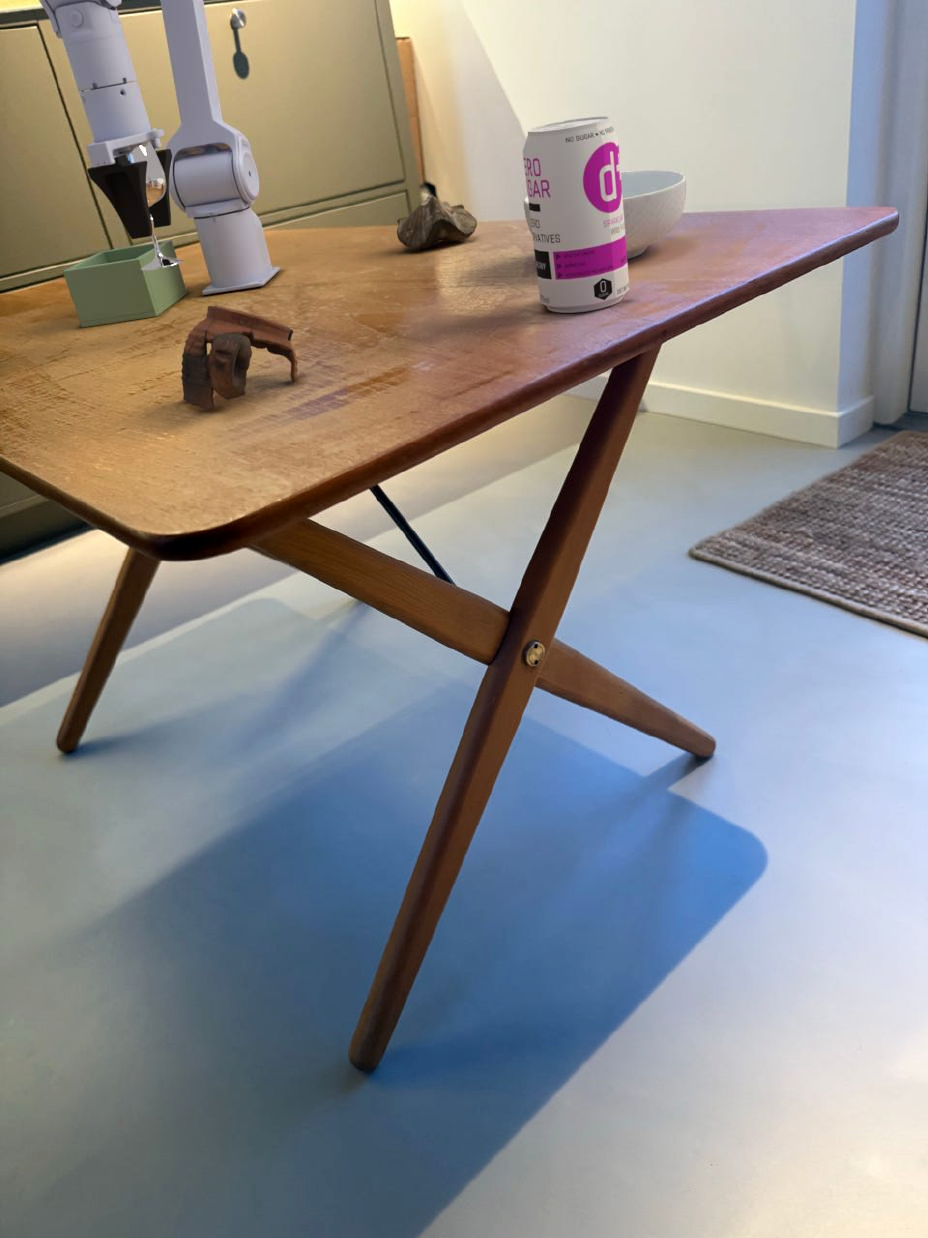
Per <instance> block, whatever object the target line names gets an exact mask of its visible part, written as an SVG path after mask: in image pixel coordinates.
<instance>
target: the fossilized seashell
mask: <svg viewBox="0 0 928 1238" xmlns="http://www.w3.org/2000/svg"><path fill="white" fill-rule="evenodd" d="M396 222H397V223H398V226H397V229H396V235H397V240H398V241H399V242H400V243H401V244H402V245H404V246H405V247H406V248H407V249H414V250H420V249H427V248H430V247H432V246H434V245H435V244H438V242H440V241H442V242H448V243H455V242H460V241H463V240H466V239H468V238H470V237H471V236H472V235H473V234H474V232H475V231H476V228H477V226H478V221H477V219H476V217H475V216H474V215H473V214H471V213H470V212H469V211H468V210H466V209H465V206H464V204H463V203H462V204H457V205H451V204H450V203H449V202H448V201H445V200H444V201H442V200H440V199H439V198H438V197H436V196H434V195H433V194H430V195H428V196H427V198H426V199H425V200H423V201H422V202H421V203H420V204H419V205H418V206H417V207H416V208H415V209H414V210H413V211H412V212H411V213H410V214H409V215H407V216H404V217H400V218H398V219H397V220H396Z"/></svg>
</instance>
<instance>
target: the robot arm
mask: <svg viewBox="0 0 928 1238" xmlns="http://www.w3.org/2000/svg"><path fill="white" fill-rule="evenodd" d="M38 1H39V3H40V5H41V6H42V8H43V10H44V11H45V12H46V14H47V16H48V18H49V21H50V24H51V28H52V30H53V33H55V35H56V38H57V39H60V40H62V42H63V46H64V48H65V53H66V56H67V58H68V61H69V66H70V68H71V71H72V74H73V78H74V81H75V84H76V87H77V90H78V94H79V96H80V101H81V104H82V106H83V111H84V113H85V116H86V120H87V122H88V125H89V128H90V132H91V135H92V138H93V141H92V142H91V143H90V144H88V145H86V146H85V147H86V150H87V153H88V158H89V160H90V163H91V167H89V168H86V171H87V174H88V177H89V179H90V180H91V182H93V184H95V185H96V186H97V187H98V188H99V190H100V191H101V192H102V193H103V195H104V196H105V198H106V199H107V200H108V201H109V203H110V204H111V206H112V207H113V209H114V211H115V213H116V215H117V216H118V218H119V219H120V222H121V224H122V225H123V227H124V229H125V230H126V232H127V234H128V236H129V237H130V238H131V240H137V239H143V238H148V237H149V238H150V237H151V236H152V222H151V217H150V214H151V215H152V217H153V220H154V229H158V228H163V227H169V226H172V212H171V211H172V210H171V200H170V199H172V201H173V203H174V204H175V205H176V207H177V208H178V209H180V211H181V212H183V213H184V214H186V217H187V218H188V219H192V218H193V222H194V227H195V231H196V234H197V237H198V241H199V244H200V249H201V251H202V255H203V259H204V262H205V265H206V270H207V274H208V277H209V280H210V284H209V285H208V286H207V287H205V288H204V289H203V290H201V293H202V295H203V296H205V295H212V294H218V293H219V294H220V293H225V292H232V291H238V290H246V289H252V288H258V287H262V286H265V285H266V284H267V283H268V282H269V281H270V280H271V279H272V278H273V277H274V276H275V275H276V274H277V273H279V272H280V270H281V268H280V266H273V265H272V261H271V257H270V253H269V249H268V245H267V241H266V237H265V232H264V229H263V224H262V222H261V220H260V218H259V216H258V215H257V214H256V213H255V212H254V211H253V210H252V205H254V204H255V202H256V200H257V198H258V196H259V193H260V177H259V171H258V168H257V165H256V161H255V160H254V157H253V153H252V148H251V144H250V142H249V139H247V137H246V136H245V134H244V133H242V132H241V131H239V130H238V129H237V128H235V127H233V126H232V125H229V124H228V123H226V122H225V121H224V119H223V115H222V108H221V102H220V95H219V90H218V83H217V77H216V72H215V64H214V59H213V52H212V46H211V40H210V34H209V33H210V32H209V27H208V21H207V16H206V10H205V3H204V2H205V1H204V0H159V2H160V7H161V8H160V9H161V13H162V19H163V24H164V30H165V36H166V44H167V49H168V53H169V60H170V66H171V72H172V78H173V85H174V90H175V94H176V96H175V97H176V102H177V107H178V113H179V118H180V126H179V128H177V130H176V131H175V132H174V134H173V135H172V137H171V138H170V139H169V141H168V142H167V143H166V146H165V149H160V148H162V142H161V139H160V138H163V137H165V131H164V129H163V128H159V129H157V127H151V124H150V119H149V116H148V113H147V109H146V106H145V102H144V100H143V95H142V92H141V89H140V85H139V82H138V78H137V74H136V70H135V67H134V64H133V60H132V58H131V57H132V56H131V54H130V50H129V46H128V43H127V40H126V36H125V32H124V29H123V26H122V23H121V18H120V15H119V11H118V8H117V7H118V6H119V5H122V1H123V0H38ZM148 141H150V142H151V144H152V146H153V148H154V150H155V152H156V153H157V155H158V158H159V160H160V162H161V164H162V167H163V170H164V174H165V178H166V192H165V194H164V197H163V198H162V199H161V200H160V201H159V202H158V203H157V204H156V205H154V206H153V207H151V208H150V209H149V207H148V201H147V193H146V170H147V161H141V162H135V163H130V161H127V159H126V156H125V155H122V154H119V152H123V151H128V150H130V146H131V145H136V144H140V143H144V142H148ZM156 149H158V150H156ZM170 197H171V198H170Z"/></svg>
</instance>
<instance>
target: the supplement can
mask: <svg viewBox="0 0 928 1238" xmlns="http://www.w3.org/2000/svg"><path fill="white" fill-rule="evenodd" d="M522 157H523V166H524V175H525V183H526V184H525V185H526V192H527V193H526V194H527V196H528V201H529V210H530V218H531V227H532V234H531V236H532V235H533V236H532V242H533V251H534V259H535V260H534V261H535V269H536V277H537V284H538V293H539V300H540V301H539V302H540V303H541V304H543V305H544V306H546V307H547V310H549V311H551V312H554V313H561V314H570V313H571V314H572V313H573V314H574V313H575V314H576V313H584V312H592V311H596V310H601V309H605V308H607V307H611V306H614V305H616V304H617V303H620V302H621V301H622V300H623V299H624V296H625V295H626V294H627V292H629V291H630V280H629V279H630V277H629V267H628V265H629V264H628V259H627V250H626V237H625V223H624V210H623V196H622V183H621V172H622V171H621V169H622V168H621V159H620V143H619V135H618V134H617V132H616V130H615V129H614V127H613V125H612V124H611V122H610V117H609V116H604V115H603V116H601V115H600V116H590V117H582V118H575V119H568V120H562V121H557V122H552V123H548V124H543V125H539V126H536V127H532V128H530V129H528V130H527V136H526V138H525V142H524V145H523V150H522Z"/></svg>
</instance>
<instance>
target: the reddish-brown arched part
mask: <svg viewBox="0 0 928 1238" xmlns="http://www.w3.org/2000/svg"><path fill="white" fill-rule="evenodd" d="M293 334H294V330H293V329H292V328H290V327H289V326H286V325H285V324H283V323H280V322H277V321H274V320H272V319H269V318H265V317H264V316H263V317H262V316H259V315H255V314H252V313H251V314H250V313H249V312H246V311H242V310H238V309H234V308H230V307H228V306H227V307H226V306H221V305H207V312H206V317H205V318H204V319H203V320H201V321H199V323H197V324H196V325H195V326H194V327H192V330H191V331H190V332H189V333H188V334H187V338H186V339H185V340H184V342H185V344H184V347H183V352H182V355H181V358H182V361H181V377H180V378H181V385H182V392H183V397H182V398H183V400H182V401H184V402H186V403H187V404H190V405H191V406H194V407H199V408H201V409H206V410H209V411H213V410H214V409H215V401H214V393H215V394H217V395H218V396H219V397H221V398H223V399H225V400H233V399H236V398H239V397H241V396H244V395H245V394H246V387H247V376H248V370H249V369H250V365H251V359H252V356H253V350H252V348H255V349H257V350H258V349H259V350H264V349H266V350H267V352H268V353H270V354H272V355H278V356H281V357H284V358H285V359H286V360H288V361H289V362H290V379H291V380H292V381H293V382H296V380H297V379H298V372H299V369H298V365H299V361H298V359H297V353H296V350H295V348H294V347H293V344H292V342H291V340H292V336H293ZM208 344H210V349H209V353H208Z"/></svg>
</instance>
